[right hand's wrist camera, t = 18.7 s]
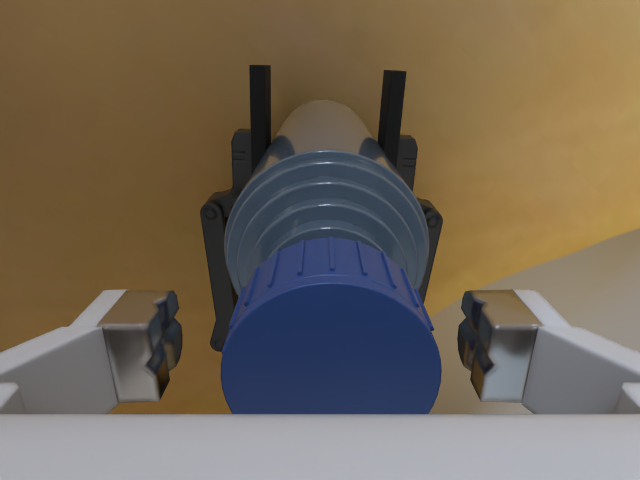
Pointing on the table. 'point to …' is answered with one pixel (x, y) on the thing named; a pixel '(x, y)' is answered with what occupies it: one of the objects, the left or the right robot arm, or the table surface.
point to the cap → (330, 336)
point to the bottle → (325, 195)
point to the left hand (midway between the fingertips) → (327, 68)
